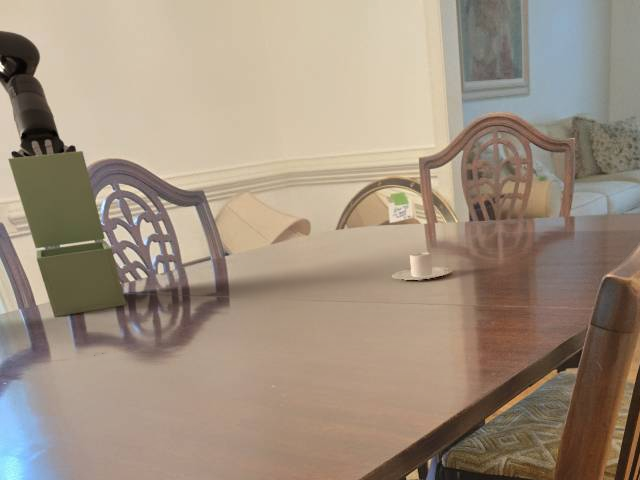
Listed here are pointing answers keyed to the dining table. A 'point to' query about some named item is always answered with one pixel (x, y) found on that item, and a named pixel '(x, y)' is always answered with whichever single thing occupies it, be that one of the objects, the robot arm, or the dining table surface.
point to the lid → (57, 198)
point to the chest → (80, 278)
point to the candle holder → (421, 267)
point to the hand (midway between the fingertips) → (55, 189)
